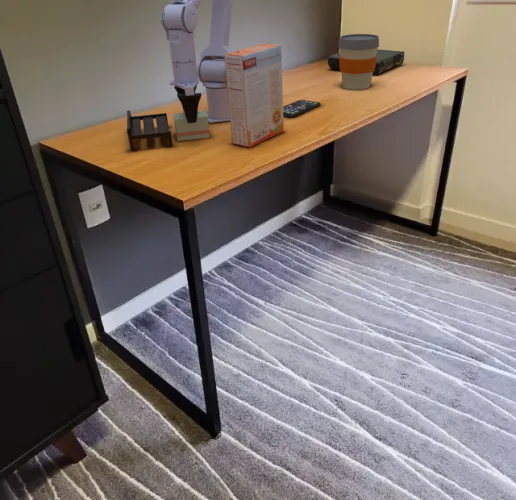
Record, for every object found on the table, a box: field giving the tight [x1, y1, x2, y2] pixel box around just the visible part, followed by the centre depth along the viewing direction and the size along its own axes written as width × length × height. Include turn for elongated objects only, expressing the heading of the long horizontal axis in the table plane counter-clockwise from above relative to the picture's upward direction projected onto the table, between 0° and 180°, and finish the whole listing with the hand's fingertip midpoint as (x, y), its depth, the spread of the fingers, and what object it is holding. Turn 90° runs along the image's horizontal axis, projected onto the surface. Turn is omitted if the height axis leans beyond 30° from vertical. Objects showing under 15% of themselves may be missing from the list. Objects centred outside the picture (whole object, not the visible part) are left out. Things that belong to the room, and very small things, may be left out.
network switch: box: [327, 49, 405, 76], centre depth 182 cm, size 23×24×5 cm
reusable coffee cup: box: [338, 33, 380, 91], centre depth 157 cm, size 13×13×15 cm
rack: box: [126, 110, 174, 152], centre depth 123 cm, size 10×16×6 cm, turn 13°
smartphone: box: [283, 99, 321, 118], centre depth 140 cm, size 7×1×15 cm
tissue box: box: [173, 110, 211, 142], centre depth 123 cm, size 8×5×6 cm, turn 103°
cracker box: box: [224, 42, 285, 148], centre depth 116 cm, size 14×6×21 cm, turn 141°
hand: (190, 118), depth 122 cm, fingers open, 7 cm apart
